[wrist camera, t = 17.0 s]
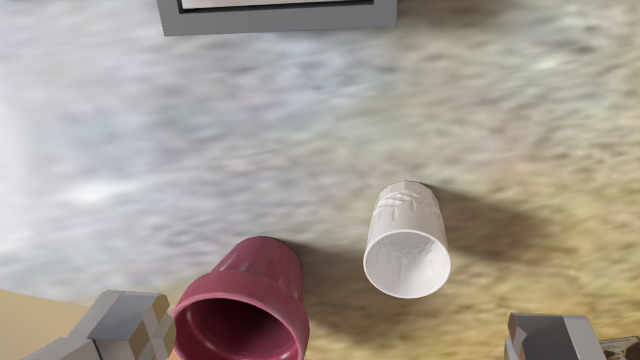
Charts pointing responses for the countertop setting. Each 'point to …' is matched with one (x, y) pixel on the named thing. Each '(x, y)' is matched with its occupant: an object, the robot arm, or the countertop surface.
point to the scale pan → (238, 2)
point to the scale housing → (276, 17)
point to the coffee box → (621, 349)
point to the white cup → (407, 242)
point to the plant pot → (245, 307)
